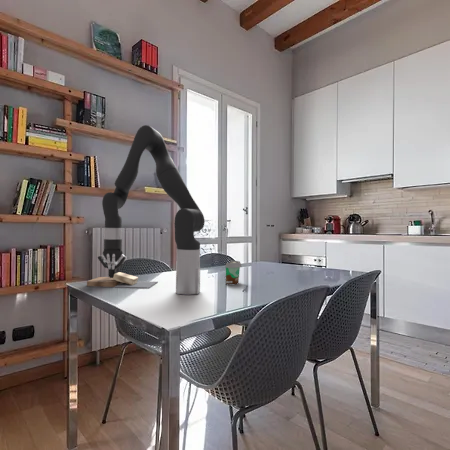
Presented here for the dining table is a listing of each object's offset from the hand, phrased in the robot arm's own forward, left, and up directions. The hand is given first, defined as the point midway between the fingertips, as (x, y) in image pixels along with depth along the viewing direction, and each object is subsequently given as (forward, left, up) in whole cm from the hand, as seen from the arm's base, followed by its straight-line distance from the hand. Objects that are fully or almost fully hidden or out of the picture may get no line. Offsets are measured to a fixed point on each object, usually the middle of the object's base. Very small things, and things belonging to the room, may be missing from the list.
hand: (112, 277), depth 144 cm
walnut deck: (+3, 0, -3) cm, 4 cm away
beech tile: (-6, 0, -1) cm, 6 cm away
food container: (-53, -12, -3) cm, 55 cm away
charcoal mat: (-11, 0, -3) cm, 12 cm away
